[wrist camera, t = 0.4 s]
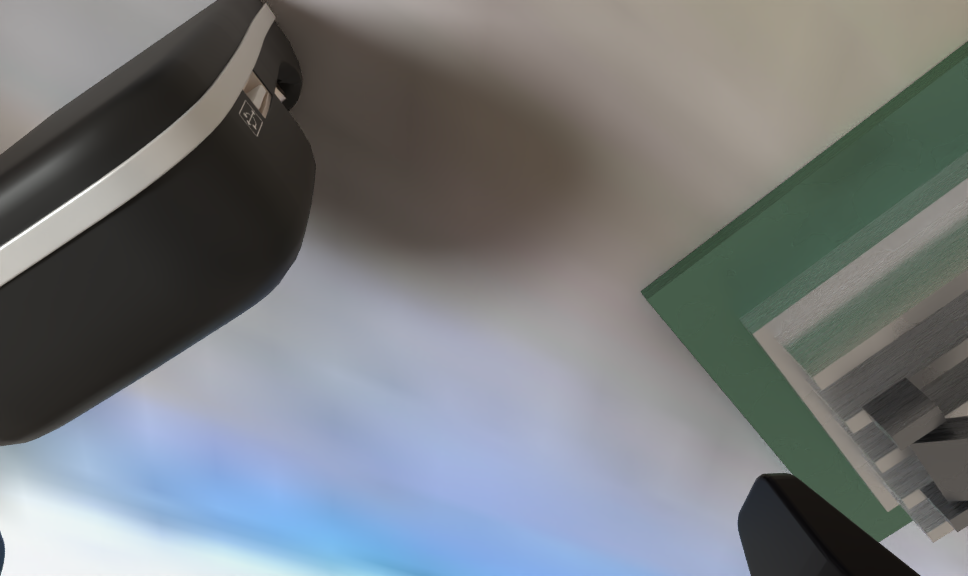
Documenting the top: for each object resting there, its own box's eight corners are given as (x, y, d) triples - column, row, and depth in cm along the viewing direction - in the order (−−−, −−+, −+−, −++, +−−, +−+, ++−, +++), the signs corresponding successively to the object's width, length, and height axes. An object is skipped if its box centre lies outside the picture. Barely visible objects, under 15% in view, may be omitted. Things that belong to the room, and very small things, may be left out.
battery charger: (144, 230, 22) (-27, 524, 12) (40, 121, 20) (-268, 360, 10) (343, 99, 21) (343, 295, 11) (254, -27, 19) (156, 69, 9)
